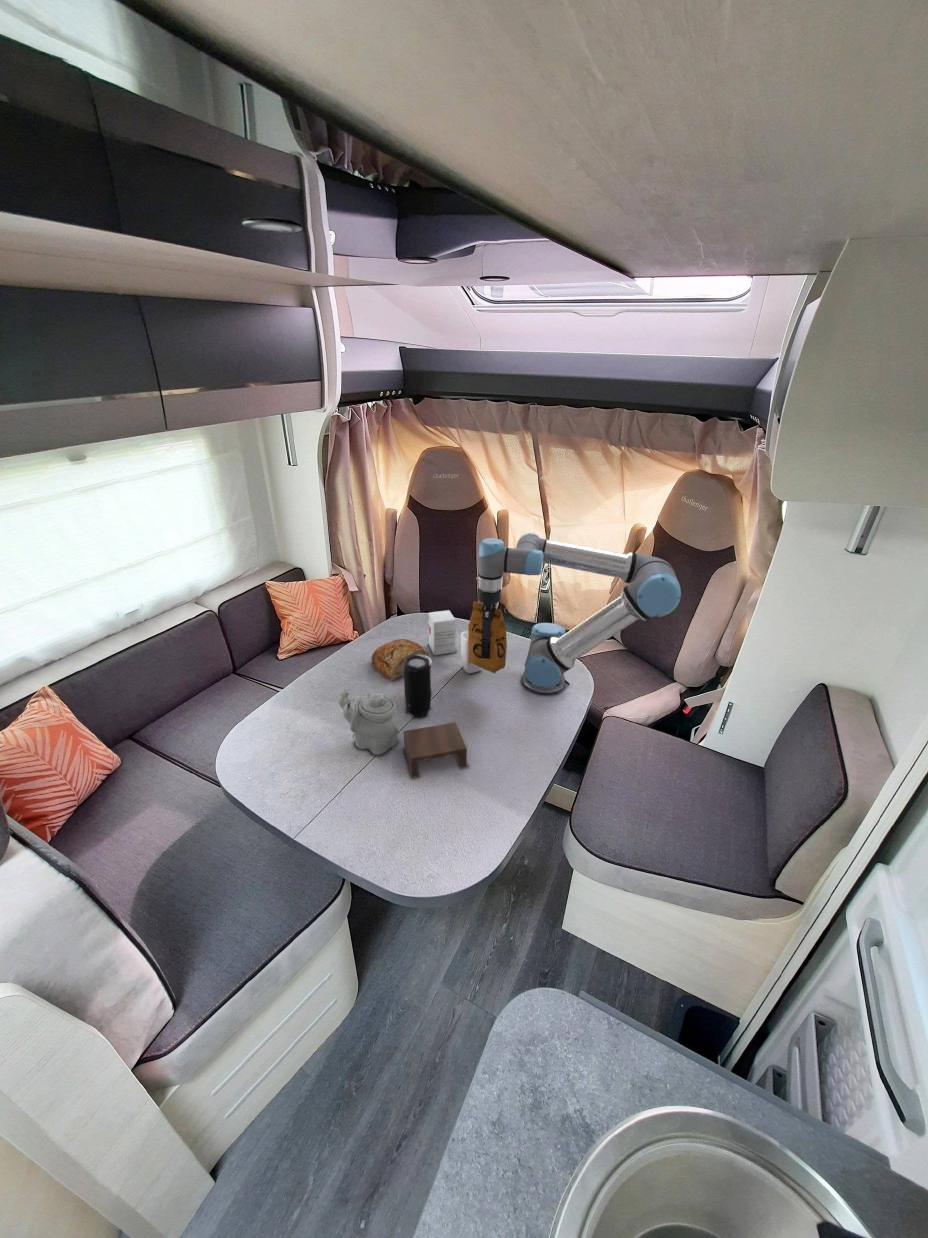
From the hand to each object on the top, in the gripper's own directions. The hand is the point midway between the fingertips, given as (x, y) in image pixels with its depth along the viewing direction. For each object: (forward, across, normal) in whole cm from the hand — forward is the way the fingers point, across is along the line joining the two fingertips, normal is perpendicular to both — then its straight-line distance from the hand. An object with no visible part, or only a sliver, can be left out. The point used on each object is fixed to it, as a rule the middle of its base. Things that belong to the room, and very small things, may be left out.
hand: (487, 648), depth 169 cm
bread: (+19, -15, -35) cm, 43 cm away
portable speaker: (+19, +12, -21) cm, 31 cm away
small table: (+19, +33, -11) cm, 40 cm away
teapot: (+19, +29, -32) cm, 48 cm away
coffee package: (+6, 0, 0) cm, 6 cm away
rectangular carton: (+19, -29, -21) cm, 41 cm away
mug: (+19, +1, -23) cm, 30 cm away
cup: (+20, -16, -7) cm, 26 cm away
